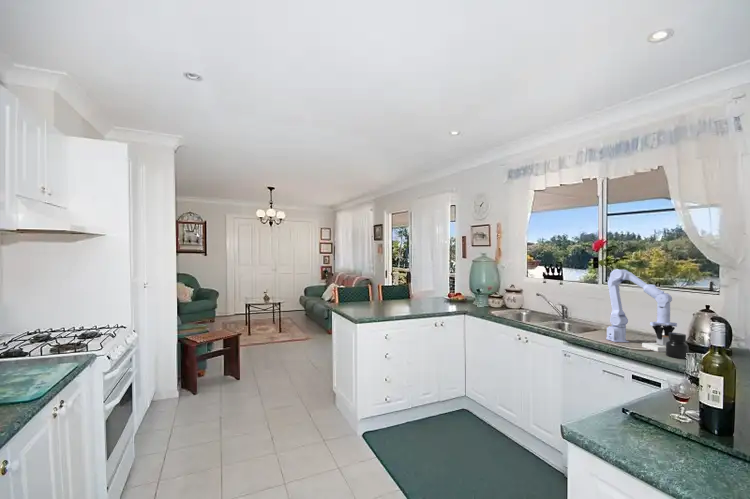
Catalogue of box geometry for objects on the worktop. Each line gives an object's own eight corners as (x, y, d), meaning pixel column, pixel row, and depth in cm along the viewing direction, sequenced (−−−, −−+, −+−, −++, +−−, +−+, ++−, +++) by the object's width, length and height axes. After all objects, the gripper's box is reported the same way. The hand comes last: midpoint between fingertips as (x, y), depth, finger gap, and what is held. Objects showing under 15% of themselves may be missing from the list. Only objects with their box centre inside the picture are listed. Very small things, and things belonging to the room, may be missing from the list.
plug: (662, 345, 193) (663, 336, 194) (656, 343, 197) (656, 334, 198) (669, 345, 194) (669, 336, 194) (663, 343, 198) (663, 334, 198)
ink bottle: (692, 358, 178) (692, 335, 178) (685, 360, 173) (685, 336, 174) (669, 353, 186) (669, 331, 187) (661, 355, 182) (661, 332, 182)
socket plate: (657, 351, 190) (657, 346, 190) (642, 347, 200) (642, 341, 200) (684, 352, 191) (684, 346, 191) (667, 347, 201) (668, 342, 201)
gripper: (657, 315, 191) (657, 340, 191) (682, 316, 193) (681, 340, 192) (646, 313, 198) (646, 337, 198) (670, 314, 200) (670, 338, 199)
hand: (663, 339), depth 196 cm, fingers closed on plug, 4 cm apart
